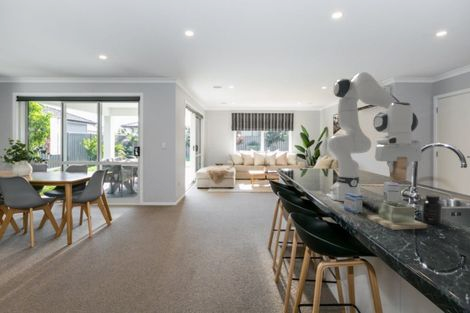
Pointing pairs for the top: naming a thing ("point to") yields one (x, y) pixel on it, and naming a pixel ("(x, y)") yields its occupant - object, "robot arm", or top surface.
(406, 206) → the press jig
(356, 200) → the medicine box
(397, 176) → the peg
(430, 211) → the supplement bottle
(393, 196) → the syrup box
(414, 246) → the top surface
